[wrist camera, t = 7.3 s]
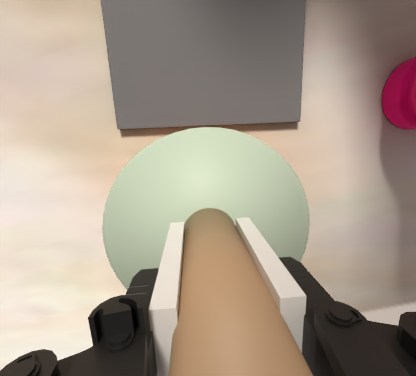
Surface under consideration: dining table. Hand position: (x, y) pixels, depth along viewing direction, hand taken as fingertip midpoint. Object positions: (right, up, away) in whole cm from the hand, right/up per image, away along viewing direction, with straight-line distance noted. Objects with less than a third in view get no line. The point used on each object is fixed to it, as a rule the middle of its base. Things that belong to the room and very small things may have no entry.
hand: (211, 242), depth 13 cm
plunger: (0, 0, +2) cm, 2 cm away
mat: (0, +17, +5) cm, 17 cm away
